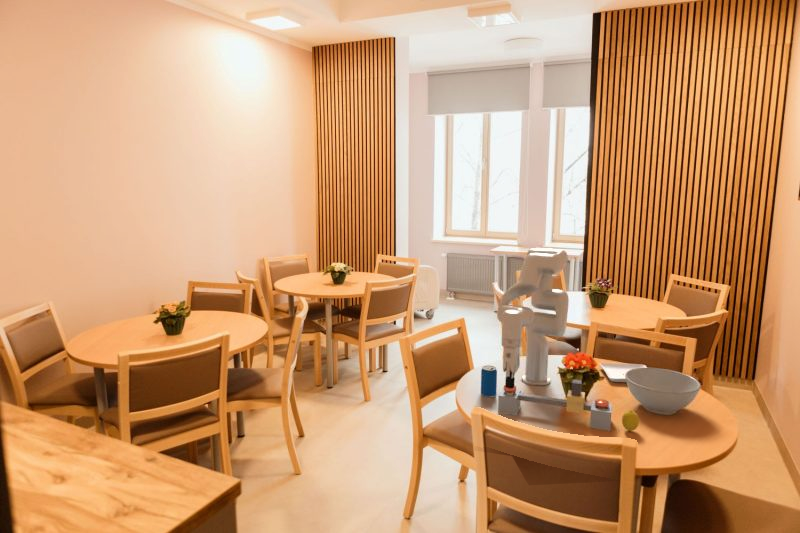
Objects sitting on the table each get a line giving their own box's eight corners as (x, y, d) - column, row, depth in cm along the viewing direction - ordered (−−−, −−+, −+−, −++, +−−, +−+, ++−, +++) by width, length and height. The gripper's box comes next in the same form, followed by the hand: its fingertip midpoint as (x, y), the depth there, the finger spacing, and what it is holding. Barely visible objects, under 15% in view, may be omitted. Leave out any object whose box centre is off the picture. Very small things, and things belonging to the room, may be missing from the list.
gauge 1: (504, 401, 218) (505, 383, 217) (516, 403, 216) (517, 385, 215) (502, 405, 214) (502, 388, 212) (514, 407, 212) (514, 389, 211)
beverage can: (496, 398, 226) (496, 371, 224) (480, 397, 227) (480, 370, 225) (496, 392, 232) (497, 365, 230) (481, 391, 233) (481, 364, 231)
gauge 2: (594, 416, 205) (595, 398, 204) (607, 419, 203) (609, 400, 202) (593, 422, 201) (594, 403, 200) (607, 424, 199) (608, 405, 198)
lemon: (618, 428, 199) (620, 407, 198) (633, 427, 200) (634, 406, 198) (625, 435, 194) (627, 414, 192) (640, 434, 194) (642, 413, 193)
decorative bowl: (690, 399, 225) (693, 371, 223) (704, 427, 200) (707, 396, 198) (620, 391, 233) (622, 364, 231) (626, 417, 208) (628, 387, 206)
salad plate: (597, 368, 262) (598, 361, 261) (644, 370, 259) (644, 363, 258) (609, 385, 241) (609, 377, 240) (659, 387, 238) (659, 379, 238)
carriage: (567, 404, 209) (569, 377, 207) (584, 407, 207) (585, 379, 205) (566, 411, 203) (567, 383, 202) (583, 413, 201) (584, 385, 199)
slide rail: (502, 403, 221) (503, 387, 219) (610, 420, 205) (612, 403, 204) (498, 412, 212) (498, 395, 211) (610, 431, 197) (611, 412, 196)
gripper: (517, 348, 202) (515, 395, 205) (524, 337, 216) (522, 382, 219) (497, 346, 205) (496, 392, 208) (505, 335, 219) (504, 379, 222)
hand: (509, 386), depth 213 cm, fingers closed
